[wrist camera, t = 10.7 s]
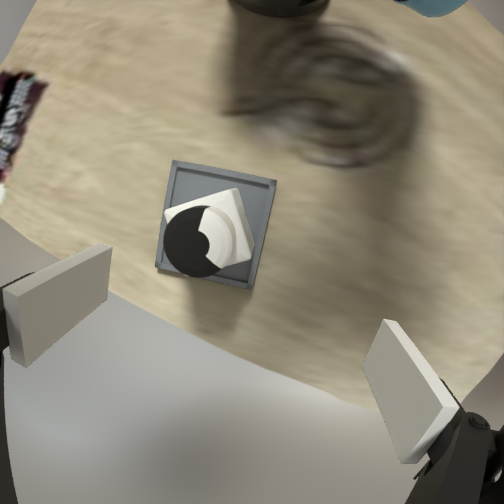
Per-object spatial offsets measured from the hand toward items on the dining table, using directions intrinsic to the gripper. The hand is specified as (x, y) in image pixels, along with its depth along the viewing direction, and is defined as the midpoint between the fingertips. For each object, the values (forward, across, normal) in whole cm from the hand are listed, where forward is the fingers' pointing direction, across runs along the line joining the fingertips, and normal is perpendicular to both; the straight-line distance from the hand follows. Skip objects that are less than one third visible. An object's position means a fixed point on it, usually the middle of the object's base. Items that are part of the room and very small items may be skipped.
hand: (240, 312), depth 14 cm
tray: (+28, -6, -2) cm, 28 cm away
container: (+27, -5, -2) cm, 28 cm away
